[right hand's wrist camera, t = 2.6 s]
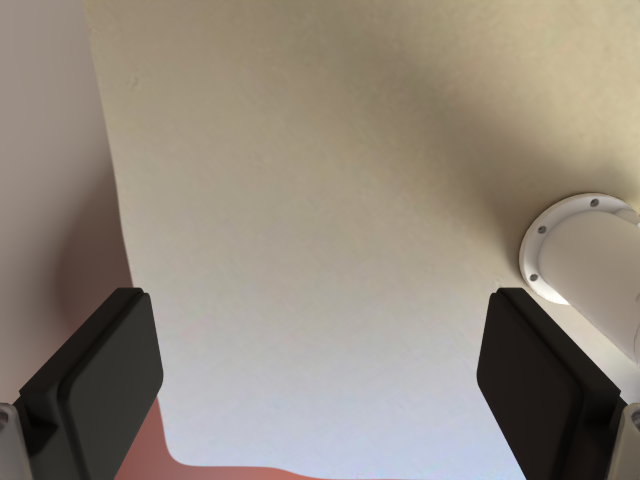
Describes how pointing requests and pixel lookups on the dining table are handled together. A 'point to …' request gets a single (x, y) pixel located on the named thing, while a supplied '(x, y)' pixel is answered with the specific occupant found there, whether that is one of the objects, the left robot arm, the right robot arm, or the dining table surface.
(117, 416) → the right robot arm
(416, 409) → the dining table surface
